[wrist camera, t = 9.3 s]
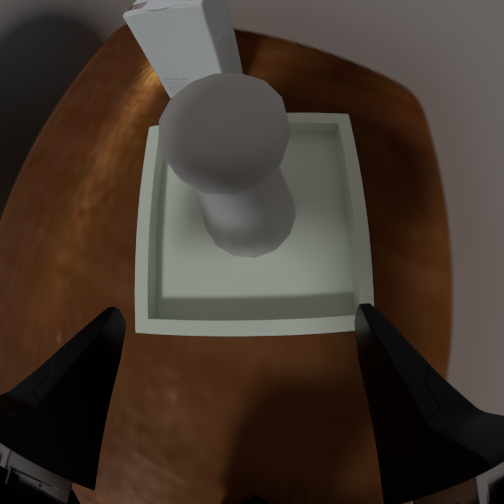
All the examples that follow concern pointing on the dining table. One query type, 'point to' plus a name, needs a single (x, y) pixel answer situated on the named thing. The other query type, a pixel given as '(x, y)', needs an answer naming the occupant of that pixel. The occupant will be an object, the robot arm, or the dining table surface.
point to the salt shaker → (232, 159)
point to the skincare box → (185, 39)
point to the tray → (268, 265)
